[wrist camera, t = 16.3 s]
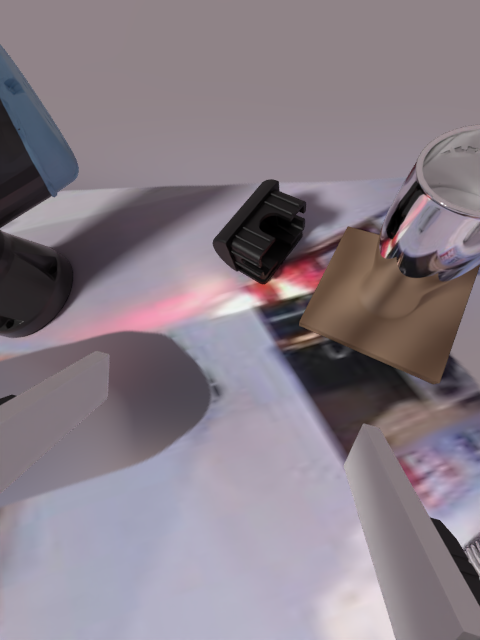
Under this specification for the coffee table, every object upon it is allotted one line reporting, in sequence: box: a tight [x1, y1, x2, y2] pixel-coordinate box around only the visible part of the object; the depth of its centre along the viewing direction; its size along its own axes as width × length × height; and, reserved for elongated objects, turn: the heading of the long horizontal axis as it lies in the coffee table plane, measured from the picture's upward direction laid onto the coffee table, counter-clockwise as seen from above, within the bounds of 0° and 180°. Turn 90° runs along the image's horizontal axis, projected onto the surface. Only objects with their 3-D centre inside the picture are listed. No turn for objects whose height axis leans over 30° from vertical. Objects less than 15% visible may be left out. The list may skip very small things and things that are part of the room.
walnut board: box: [299, 227, 480, 384], centre depth 27 cm, size 14×14×1 cm
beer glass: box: [357, 125, 480, 319], centre depth 20 cm, size 7×7×15 cm
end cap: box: [213, 180, 306, 284], centre depth 30 cm, size 10×7×7 cm
